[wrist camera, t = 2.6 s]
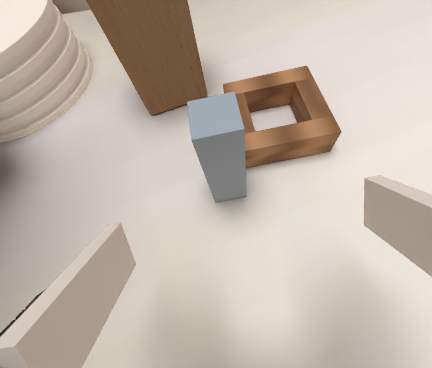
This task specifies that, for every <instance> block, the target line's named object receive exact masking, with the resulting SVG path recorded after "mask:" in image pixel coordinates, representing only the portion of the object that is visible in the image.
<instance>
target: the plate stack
mask: <svg viewBox="0 0 432 368" xmlns="http://www.w3.org/2000/svg"><path fill="white" fill-rule="evenodd" d="M92 69H93V65H92V60H91V57H90V56H89V54H88V53H87V51H86V50H85V48H84V47H83V46H82V44H81V42H80V41H79V39H78V38H77V37H76V35H75V34H74V32H73V31H72V29H71V28H70V26H69V25H68V23H67V22H66V21H65V20H64V18H63V16H62V14H61V13H60V12H59V10H58V9H57V7H56V6H55V5H53V3H52V0H0V143H1V142H7V141H11V140H15V139H18V138H21V137H24V136H26V135H29V134H31V133H33V132H35V131H37V130H39V129H41V128H43V127H45V126H46V125H48V124H50V123H51V122H53V121H54V120H56V119H57V118H58V117H60V116H61V115H62V114H63V113H65V112H66V111H67V110H68V109H69V108H70V107H71V106H72V105H73V104H74V103H75V102H76V101H77V100H78V98H79V97H80V96H81V95H82V93H83V92H84V90H85V89H86V87H87V85H88V83H89V81H90V78H91V75H92Z"/></svg>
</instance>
